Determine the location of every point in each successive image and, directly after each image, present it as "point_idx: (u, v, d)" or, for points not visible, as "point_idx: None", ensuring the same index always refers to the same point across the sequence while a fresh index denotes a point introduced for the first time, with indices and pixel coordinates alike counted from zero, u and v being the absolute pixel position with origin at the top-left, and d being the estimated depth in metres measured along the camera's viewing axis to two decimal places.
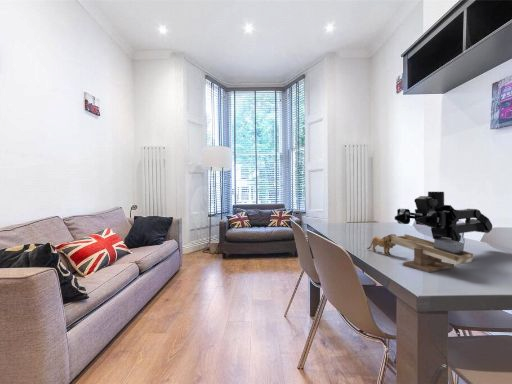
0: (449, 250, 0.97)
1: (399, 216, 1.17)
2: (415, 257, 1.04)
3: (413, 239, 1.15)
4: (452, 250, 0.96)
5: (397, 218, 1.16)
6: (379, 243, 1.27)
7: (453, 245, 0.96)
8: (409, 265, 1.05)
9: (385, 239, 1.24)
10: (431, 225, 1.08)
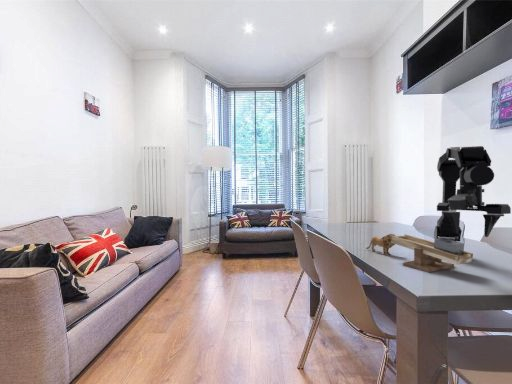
0: (449, 250, 0.97)
1: (455, 225, 0.97)
2: (415, 257, 1.04)
3: (413, 239, 1.15)
4: (452, 250, 0.96)
5: (457, 229, 0.97)
6: (378, 243, 1.27)
7: (453, 245, 0.96)
8: (409, 265, 1.05)
9: (384, 239, 1.24)
10: (497, 218, 0.88)
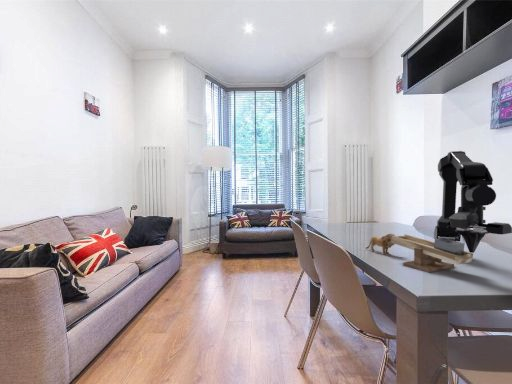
0: (449, 250, 0.97)
1: (470, 244, 0.93)
2: (415, 257, 1.04)
3: (413, 239, 1.15)
4: (452, 251, 0.96)
5: None
6: (378, 243, 1.28)
7: (453, 245, 0.95)
8: (409, 265, 1.05)
9: (384, 239, 1.25)
10: (483, 235, 0.92)
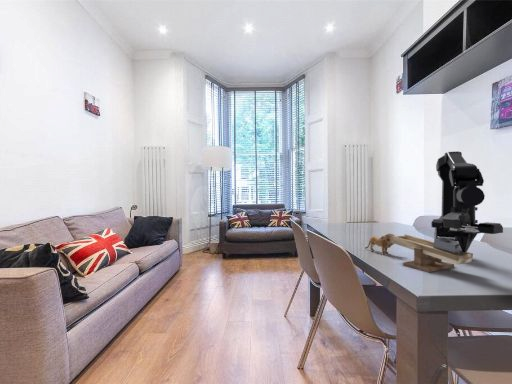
0: (448, 250, 0.97)
1: None
2: (415, 257, 1.04)
3: (413, 239, 1.15)
4: (452, 250, 0.96)
5: None
6: (377, 243, 1.28)
7: (453, 245, 0.96)
8: (409, 265, 1.05)
9: (383, 239, 1.25)
10: (475, 234, 0.94)
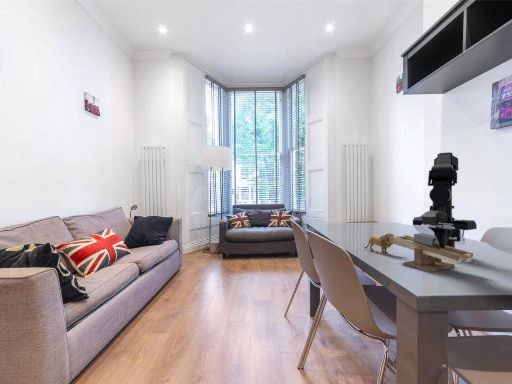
0: (427, 244, 1.03)
1: None
2: (415, 257, 1.04)
3: (413, 240, 1.15)
4: (430, 244, 1.02)
5: None
6: (376, 242, 1.28)
7: (430, 239, 1.02)
8: (409, 265, 1.05)
9: (382, 238, 1.25)
10: (452, 231, 1.00)
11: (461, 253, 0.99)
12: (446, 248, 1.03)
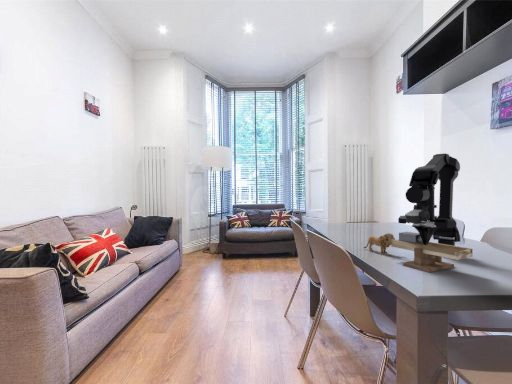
0: (411, 241, 1.09)
1: None
2: (415, 257, 1.04)
3: None
4: (413, 240, 1.08)
5: None
6: (376, 242, 1.29)
7: (414, 236, 1.08)
8: (409, 265, 1.05)
9: (382, 238, 1.26)
10: (434, 229, 1.06)
11: (461, 250, 0.99)
12: (446, 246, 1.03)
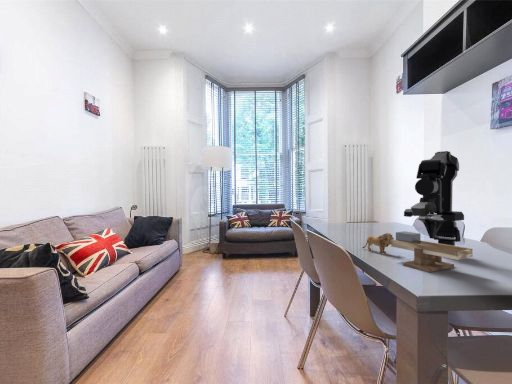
0: (407, 240, 1.10)
1: (430, 231, 1.04)
2: (415, 257, 1.04)
3: None
4: (410, 240, 1.09)
5: None
6: (375, 242, 1.29)
7: (410, 235, 1.09)
8: (409, 265, 1.05)
9: (381, 238, 1.26)
10: (441, 222, 1.03)
11: (461, 250, 0.99)
12: (446, 246, 1.03)
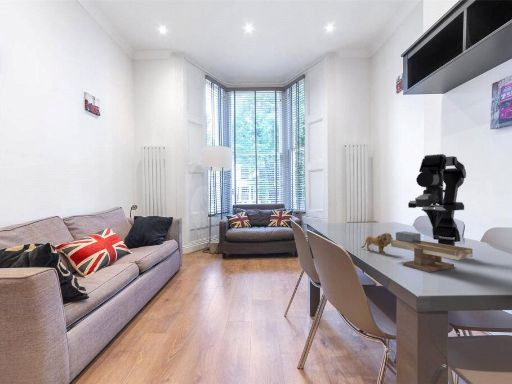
0: (407, 240, 1.10)
1: None
2: (415, 257, 1.04)
3: None
4: (410, 240, 1.09)
5: None
6: (374, 242, 1.30)
7: (410, 235, 1.09)
8: (409, 265, 1.05)
9: (380, 238, 1.27)
10: (443, 212, 1.12)
11: (461, 250, 0.99)
12: (446, 246, 1.03)
